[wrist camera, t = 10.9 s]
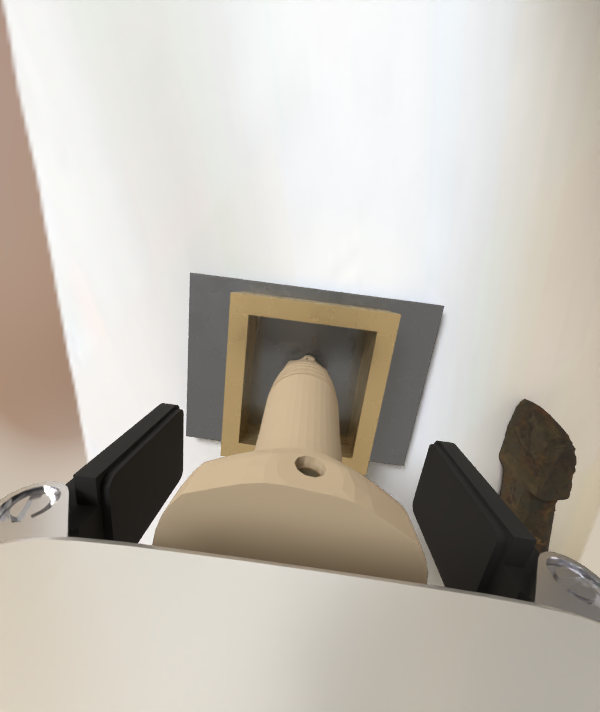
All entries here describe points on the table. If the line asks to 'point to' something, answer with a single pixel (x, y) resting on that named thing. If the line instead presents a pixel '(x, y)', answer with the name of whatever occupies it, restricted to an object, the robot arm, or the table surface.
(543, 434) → the dark brown carved statuette
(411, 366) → the collar base
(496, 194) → the table surface
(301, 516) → the handle
